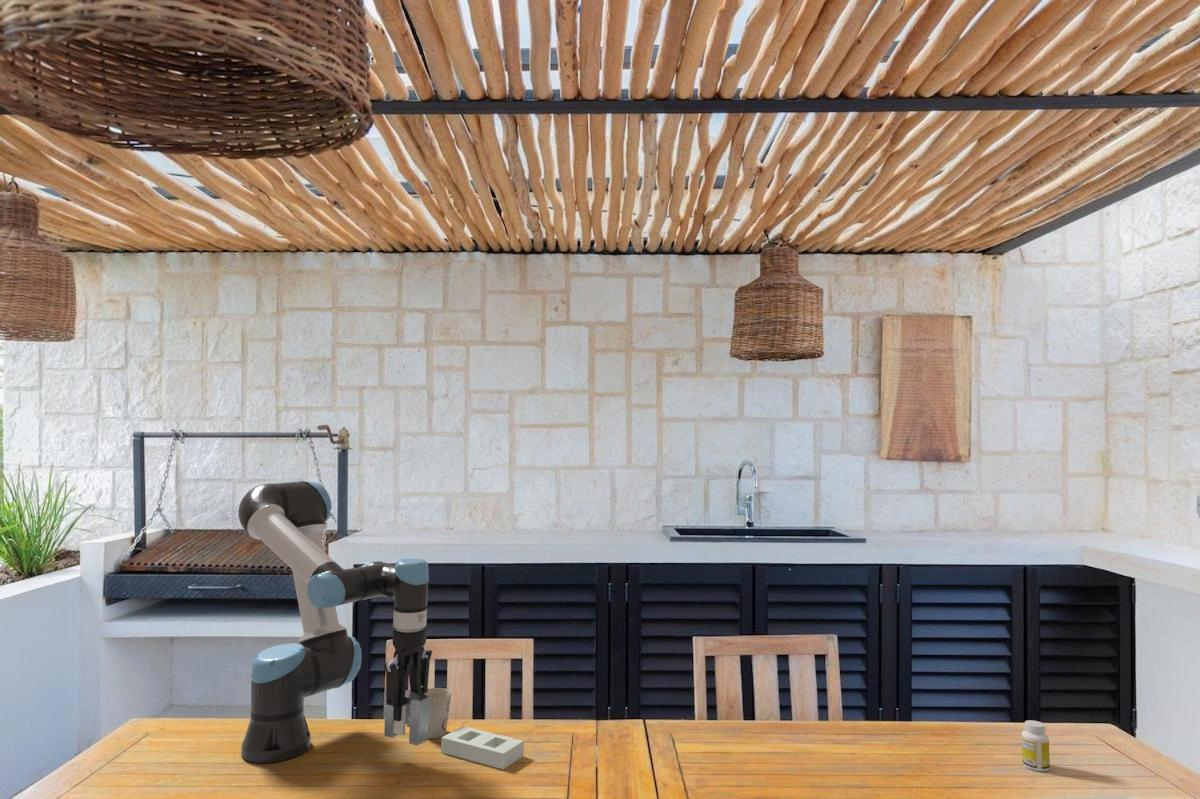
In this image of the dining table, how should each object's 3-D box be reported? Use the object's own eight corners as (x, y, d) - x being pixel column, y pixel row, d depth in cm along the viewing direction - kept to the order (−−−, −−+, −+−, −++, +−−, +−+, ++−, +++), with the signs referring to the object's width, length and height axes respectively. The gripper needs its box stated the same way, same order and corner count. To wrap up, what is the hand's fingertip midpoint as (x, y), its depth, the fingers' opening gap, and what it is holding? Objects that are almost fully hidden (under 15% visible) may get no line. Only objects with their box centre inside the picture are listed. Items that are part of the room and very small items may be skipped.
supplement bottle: (1046, 763, 172) (1045, 720, 173) (1052, 774, 167) (1051, 729, 168) (1020, 760, 174) (1019, 717, 175) (1025, 770, 169) (1024, 726, 169)
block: (441, 752, 176) (441, 737, 177) (462, 740, 183) (463, 726, 184) (503, 769, 168) (503, 753, 168) (523, 756, 175) (523, 740, 175)
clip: (382, 734, 173) (384, 691, 173) (393, 729, 176) (395, 686, 176) (418, 746, 167) (420, 701, 168) (429, 740, 170) (431, 696, 171)
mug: (442, 742, 183) (443, 700, 183) (394, 737, 185) (395, 696, 185) (455, 728, 191) (456, 689, 191) (410, 724, 193) (410, 685, 194)
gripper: (396, 639, 163) (392, 747, 163) (446, 622, 178) (442, 722, 177) (371, 633, 167) (367, 739, 166) (422, 617, 181) (418, 715, 181)
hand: (406, 730), depth 172 cm, fingers closed on clip, 3 cm apart
